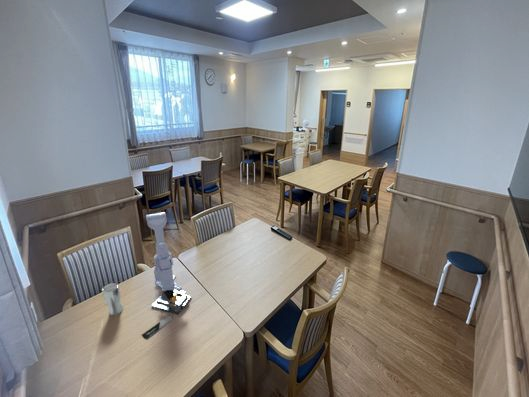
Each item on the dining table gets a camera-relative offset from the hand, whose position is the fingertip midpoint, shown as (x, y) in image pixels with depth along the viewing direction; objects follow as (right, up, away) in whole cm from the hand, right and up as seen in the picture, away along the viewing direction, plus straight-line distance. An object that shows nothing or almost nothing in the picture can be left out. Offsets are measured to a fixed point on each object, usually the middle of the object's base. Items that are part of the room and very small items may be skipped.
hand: (170, 298), depth 133 cm
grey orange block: (+5, -2, -1) cm, 5 cm away
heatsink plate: (0, -3, +1) cm, 3 cm away
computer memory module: (-1, -9, -13) cm, 16 cm away
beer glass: (-26, -5, -5) cm, 27 cm away
